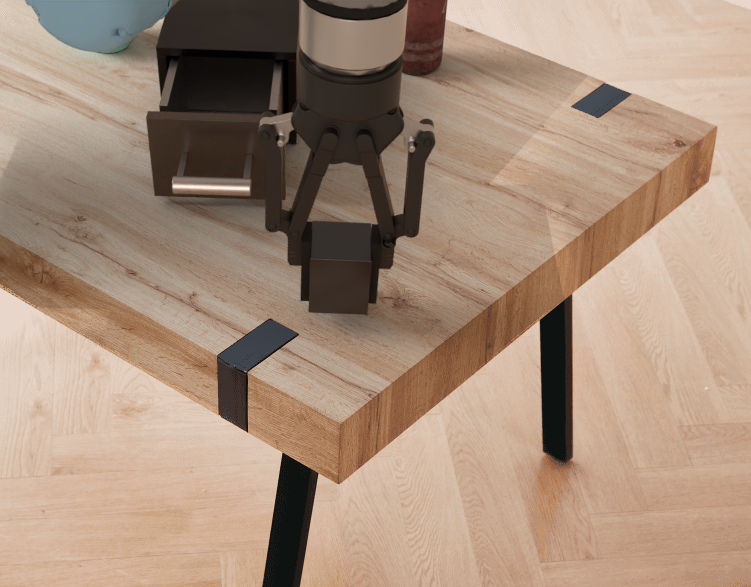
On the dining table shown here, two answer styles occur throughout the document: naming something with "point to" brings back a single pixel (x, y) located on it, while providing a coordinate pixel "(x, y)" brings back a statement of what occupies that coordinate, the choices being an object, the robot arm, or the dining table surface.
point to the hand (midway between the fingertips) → (338, 291)
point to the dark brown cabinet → (234, 36)
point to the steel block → (340, 267)
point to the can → (424, 36)
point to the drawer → (214, 127)
